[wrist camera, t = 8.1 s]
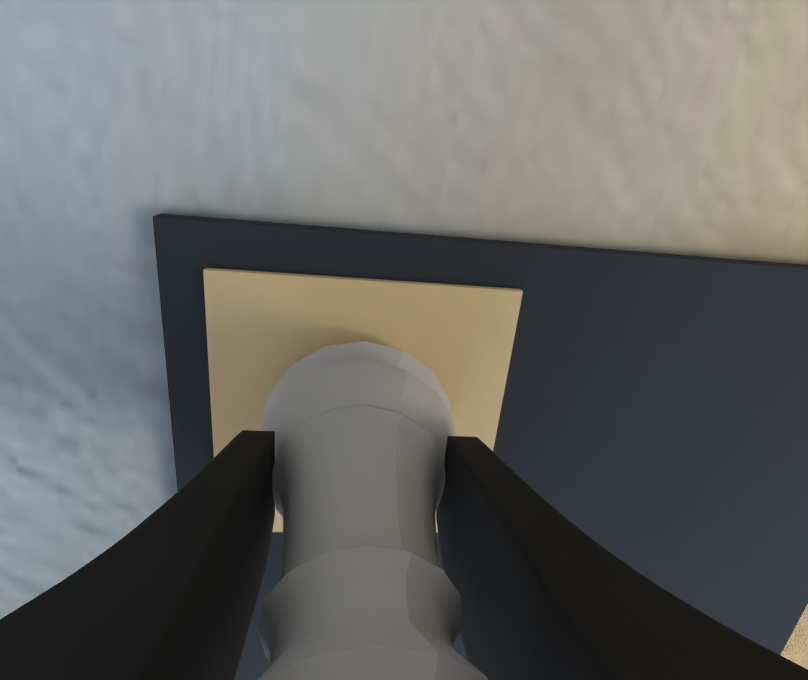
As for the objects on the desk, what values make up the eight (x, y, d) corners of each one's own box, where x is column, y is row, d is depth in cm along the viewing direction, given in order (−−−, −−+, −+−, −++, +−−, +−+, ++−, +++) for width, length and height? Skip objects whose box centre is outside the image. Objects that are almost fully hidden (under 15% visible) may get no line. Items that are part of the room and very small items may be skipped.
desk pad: (201, 710, 16) (196, 729, 15) (158, 213, 10) (148, 216, 10) (749, 687, 18) (762, 703, 18) (962, 277, 13) (990, 282, 12)
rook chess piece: (311, 301, 11) (213, 651, 3) (482, 379, 12) (704, 776, 4) (236, 457, 12) (39, 974, 4) (397, 515, 13) (456, 1003, 6)
